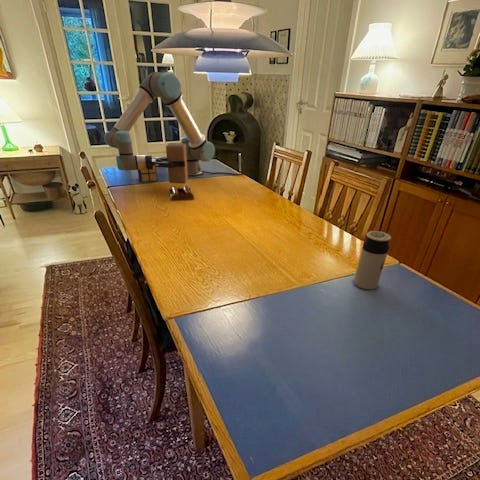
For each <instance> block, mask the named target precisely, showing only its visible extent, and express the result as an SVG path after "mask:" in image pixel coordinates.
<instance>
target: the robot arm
mask: <svg viewBox="0 0 480 480" xmlns="http://www.w3.org/2000/svg"><path fill="white" fill-rule="evenodd" d="M158 98H160V99H161V101H162V102H163V104H164V105H165V107H168V108H169V109H170V112H171V113H172V115H173V116H174V117H175V119H176V121H177V123H178V125H179V126H180V128H181V130H182V131H183V134H184V135H185V136H183V137H181V138H180V143H184V144H186V154H187V170H188V177H197V176H201V175H203V173H204V174H209V175H221V174H222V175H223V174H224V175H232V176H243V175H246V176H250V175H249V174H248V173H247V172H242V173H233V172H224V171H223V172H222V171H218V172H212V171H211V172H210V171H205V170H203V168H202V165H201V163H200V161H201V162H206V163H207V162H210V161H212V160H213V158H214V156H215V152H216V149H215V146H214V144H213V142H211V141H208V139H207V137H206V135H205V134H203V133H202V132H201V131H200V129H199V127H198V125H197V124H196V121H195V120H194V118H193V117H192V115H191V112H190V111H189V109H188V107H187V105H186V103H185V101H184V100H183V92H182V83H181V81H180V79H179V78H178V77H177V75H176V74H174V73H172V72H167V71H164V72H160V71H154V72H151V73H150V74H148V75H147V76H146V77H145V78H144V79H143V80H142V82H141V83H140V85H139V86H138V88H137V93H136V94H135V96H134V97H133V99H132V100H131V101H130V103H129V104H128V106H127V107H126V108H125V110H124V111H123V113H122V114H121V116H120V117H119V119H118V120H117V122H115V124H114V125H113V127H112V129H111V130H110V131H106V132H105V133H104V135H103V141H104V143H105V144H106V145H107V146H109V147H111V148H114V149H117V150H118V155H116V157H115V160H116V166H117V169H118V171H126V172H127V171H138V170H140V171H142V170H145V169H146V168H147V170H152V169H153V166H155V167H156V168H165V169H166V168H167V169H168V168H172V169H173V167H185V161H174V162H167V156H158V157H157V156H156V157H153V156H152V155H151V154H145V155H144V154H137V155H134V150H133V142H132V137H131V133H130V131H131V129H132V127H133V126H134V125H135V124H136V122H138V120H139V118H140V117H141V115H142V114H143V112H144V111H145V110H146V108H147V107H148V106H149V104H152V103H153V102H154V101H155V100H156V99H158Z"/></svg>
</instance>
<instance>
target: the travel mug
mask: <svg viewBox="0 0 480 480" xmlns="http://www.w3.org/2000/svg"><path fill="white" fill-rule="evenodd" d="M391 240H392V236H391V235H390V234H389V233H387V232H384V231H379V230H370V231H368V232H367V233H366V239H365V240H364V242H363V243H362V247H361V252H360V256H359V259H358V263H357V267H356V271H355V275H354V279H353V283H354V285H355V286H356V287H358V288H361V289H363V290H374V289H377V288H378V285H379V282H380V278H381V275H382V271H383V269H384V266H385V262H386V259H387V256H388V252H389V249H390V244H389V242H390V241H391Z"/></svg>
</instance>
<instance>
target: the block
mask: <svg viewBox="0 0 480 480" xmlns="http://www.w3.org/2000/svg"><path fill="white" fill-rule="evenodd" d="M165 152H166V157H167V162H174V161H185V167H173V169H172V168H167V175H168V182H169V183H170V184H186V183H187V182H188V179H189V176H188V170H187V154H186V144H184V143H181V142H169V143H168V144H167V145H166V146H165Z"/></svg>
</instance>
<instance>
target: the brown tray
mask: <svg viewBox="0 0 480 480" xmlns="http://www.w3.org/2000/svg"><path fill="white" fill-rule="evenodd" d="M169 195H170V198H171V201H187V200H188V201H189V200H194V194H193V193H192V189H191V187H189V186H187V185H184V186H183V187H176V186H172V187H171V188H169Z"/></svg>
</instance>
